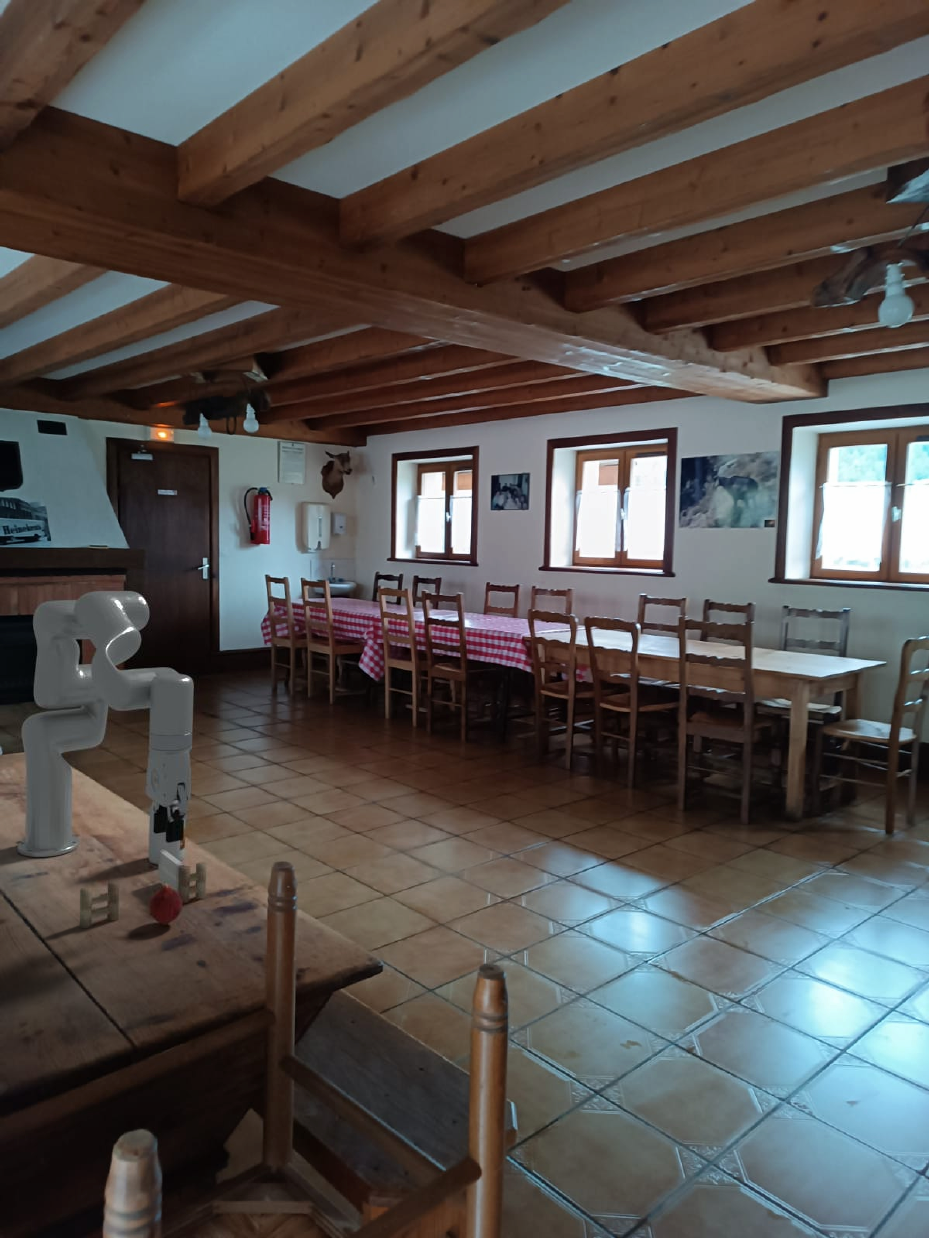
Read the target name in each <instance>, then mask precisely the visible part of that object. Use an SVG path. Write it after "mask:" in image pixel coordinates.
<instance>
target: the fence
mask: <svg viewBox="0 0 929 1238" xmlns="http://www.w3.org/2000/svg"><path fill="white" fill-rule="evenodd" d="M191 882H195V885H191V886H190V883H191ZM206 887H207V863H206V862H204V861H200V862H197V863H196V864H195V873H194V872H192V873H191V867H190V866H189V865H184V866H181V867H180V869H179V895H180V897H181V900H182V904H187V903H189V902H190V895H192V894H194V896H195V897H194V898H195V899H196V900H204V899H205V898H206V891H207V890H206V889H207V888H206ZM79 891H80V892H79V928H82V929H87V928H90V927H91V926H92V919H93V918H94V919H95V918H97V917H102V916H106V917H107V918H106V920H107V922H108V921H109V922H116V921H117V920H119V917H120V916H119V914H120V913H119V912H120V882H119V881H116V880H114V881H109V882H108V883H107V892H105V893H100V894H96V895H93V888H92V887H88V886H87V887H86V886H85V887H81V888H80V890H79ZM105 902H107V905H105V906H102V907H98V908H93V907H92V906H93V905H95V904H102V903H105Z"/></svg>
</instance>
